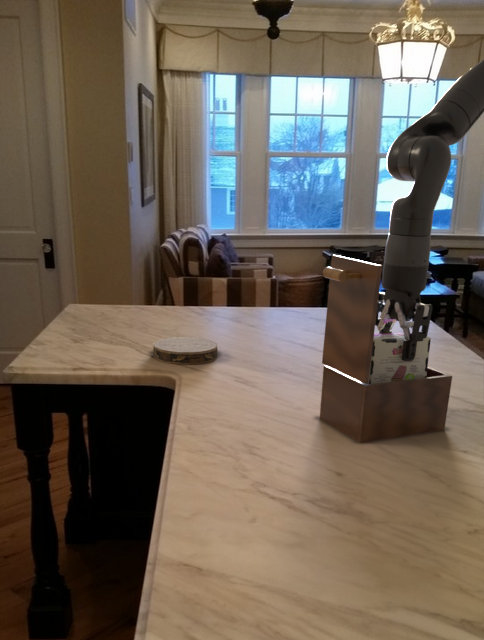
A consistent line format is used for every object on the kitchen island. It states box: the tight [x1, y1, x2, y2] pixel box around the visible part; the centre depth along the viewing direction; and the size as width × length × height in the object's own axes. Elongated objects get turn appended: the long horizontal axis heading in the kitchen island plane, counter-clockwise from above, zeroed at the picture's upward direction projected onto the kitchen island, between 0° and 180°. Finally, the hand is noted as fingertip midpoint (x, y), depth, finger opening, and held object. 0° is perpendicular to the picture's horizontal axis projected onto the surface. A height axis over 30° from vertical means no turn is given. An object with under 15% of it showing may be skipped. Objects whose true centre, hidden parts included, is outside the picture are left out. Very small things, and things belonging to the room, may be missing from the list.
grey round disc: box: [152, 336, 218, 365], centre depth 175 cm, size 16×16×3 cm
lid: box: [321, 254, 383, 384], centre depth 120 cm, size 19×14×5 cm
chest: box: [319, 365, 453, 444], centre depth 130 cm, size 19×14×11 cm
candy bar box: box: [366, 332, 432, 384], centre depth 129 cm, size 11×5×16 cm, turn 103°
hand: (395, 355), depth 127 cm, fingers open, 6 cm apart
